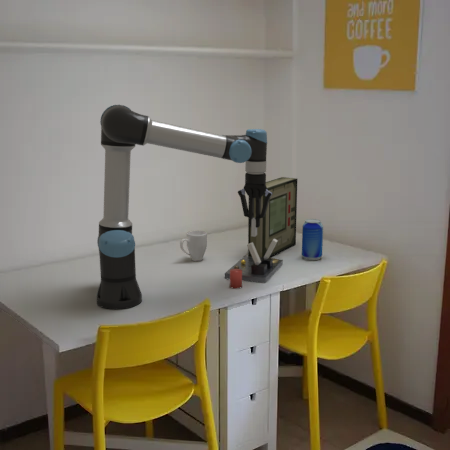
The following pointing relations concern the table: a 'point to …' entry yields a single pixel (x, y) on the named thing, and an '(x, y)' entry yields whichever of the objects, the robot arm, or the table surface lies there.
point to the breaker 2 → (270, 249)
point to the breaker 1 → (254, 253)
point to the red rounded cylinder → (236, 278)
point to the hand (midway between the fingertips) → (254, 235)
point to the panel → (254, 276)
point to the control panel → (276, 218)
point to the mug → (195, 244)
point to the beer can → (312, 239)
